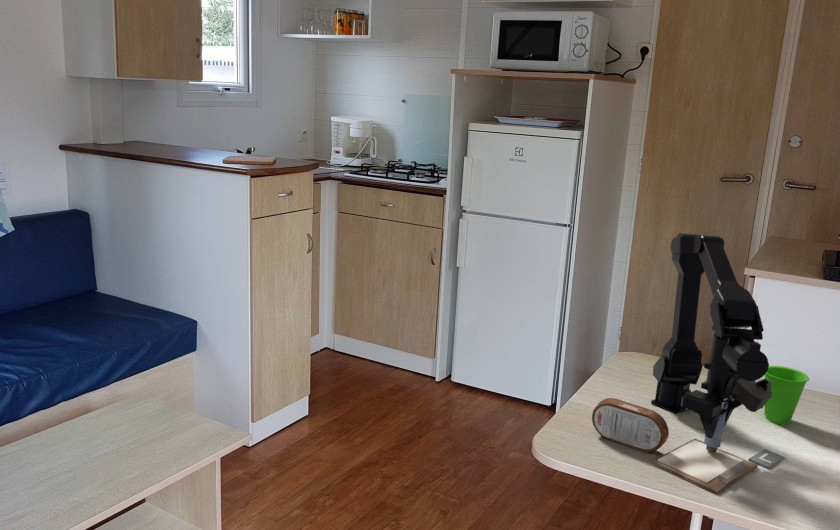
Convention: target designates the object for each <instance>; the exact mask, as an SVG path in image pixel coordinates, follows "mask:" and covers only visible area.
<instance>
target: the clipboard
mask: <svg viewBox="0 0 840 530" xmlns="http://www.w3.org/2000/svg"><path fill="white" fill-rule="evenodd" d="M651 465H653V466H655V467H657V468H658V469H659V468H660V469H661V470H664V471H666V472H667V473H670V474H672V475H674V476H676V477H678V478H680V479H682V480H685V481H687V482H689V483H691V484H693V485H695V486H697V487H700V488H702V489H704V490H707V491H708V492H710V493H712V494H714V495H718V494H719V493H721V492H723V491H724V490H726V489H728V488H729V487H731V486H733V485H734V484H736V483H737V482H738V481H740V480H741V479H743V478H744V477H746V476H748V475H749V474H751V473H752V472H754V471H755V470H757V469H759V465H758V464H756V463H753V462H751V461H749V460H746V459H744V458H742V457H739V456H737V455H735V454H733V453H730V452H728V451H725V450H723V449H721V448H720V447H719V448H717V452H710V451H708V450H706V444H705V443H704V441H701V440H700V439H698V438H693V439H691V440H689V441H688V442H686V443H684V444H681V445H680V446H678V447H676V448H674V449H672V450H670V451H668V452H667V453H664V454H663V455H661V456H658V457H657V458H655V459H653V460H652V461H651Z"/></svg>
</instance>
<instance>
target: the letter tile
mask: <svg viewBox="0 0 840 530" xmlns="http://www.w3.org/2000/svg"><path fill="white" fill-rule="evenodd" d="M784 459H786V456H784V455H782V454H779V453H777V452H774V451H772V450H769V449H766V448H763V449H762V450H760V451H759V452H757V453H756V454H753V455H752V456H751V457H749V458H748V461H749V462H752V463H754V464H756V465H758V466H761V467H763V468H765V469H768V470H770V469H771V468H772V467H774V466H775V465H777V464H779V463H781V462H782V461H784Z"/></svg>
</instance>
